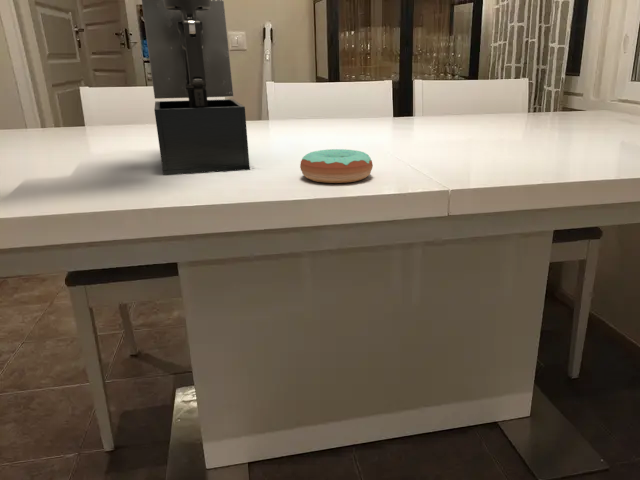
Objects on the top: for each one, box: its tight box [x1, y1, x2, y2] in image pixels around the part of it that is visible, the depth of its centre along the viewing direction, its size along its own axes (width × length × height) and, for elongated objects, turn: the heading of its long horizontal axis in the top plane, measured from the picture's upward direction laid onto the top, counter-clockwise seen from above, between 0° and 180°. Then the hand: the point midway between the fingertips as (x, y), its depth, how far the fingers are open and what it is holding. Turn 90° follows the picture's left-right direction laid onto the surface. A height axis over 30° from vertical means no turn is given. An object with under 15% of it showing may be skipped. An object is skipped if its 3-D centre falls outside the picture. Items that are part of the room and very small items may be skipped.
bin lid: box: [141, 0, 234, 100], centre depth 108 cm, size 18×15×6 cm
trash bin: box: [153, 98, 251, 176], centre depth 102 cm, size 17×15×11 cm
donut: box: [299, 148, 374, 184], centre depth 92 cm, size 12×12×4 cm
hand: (200, 125), depth 100 cm, fingers open, 7 cm apart
